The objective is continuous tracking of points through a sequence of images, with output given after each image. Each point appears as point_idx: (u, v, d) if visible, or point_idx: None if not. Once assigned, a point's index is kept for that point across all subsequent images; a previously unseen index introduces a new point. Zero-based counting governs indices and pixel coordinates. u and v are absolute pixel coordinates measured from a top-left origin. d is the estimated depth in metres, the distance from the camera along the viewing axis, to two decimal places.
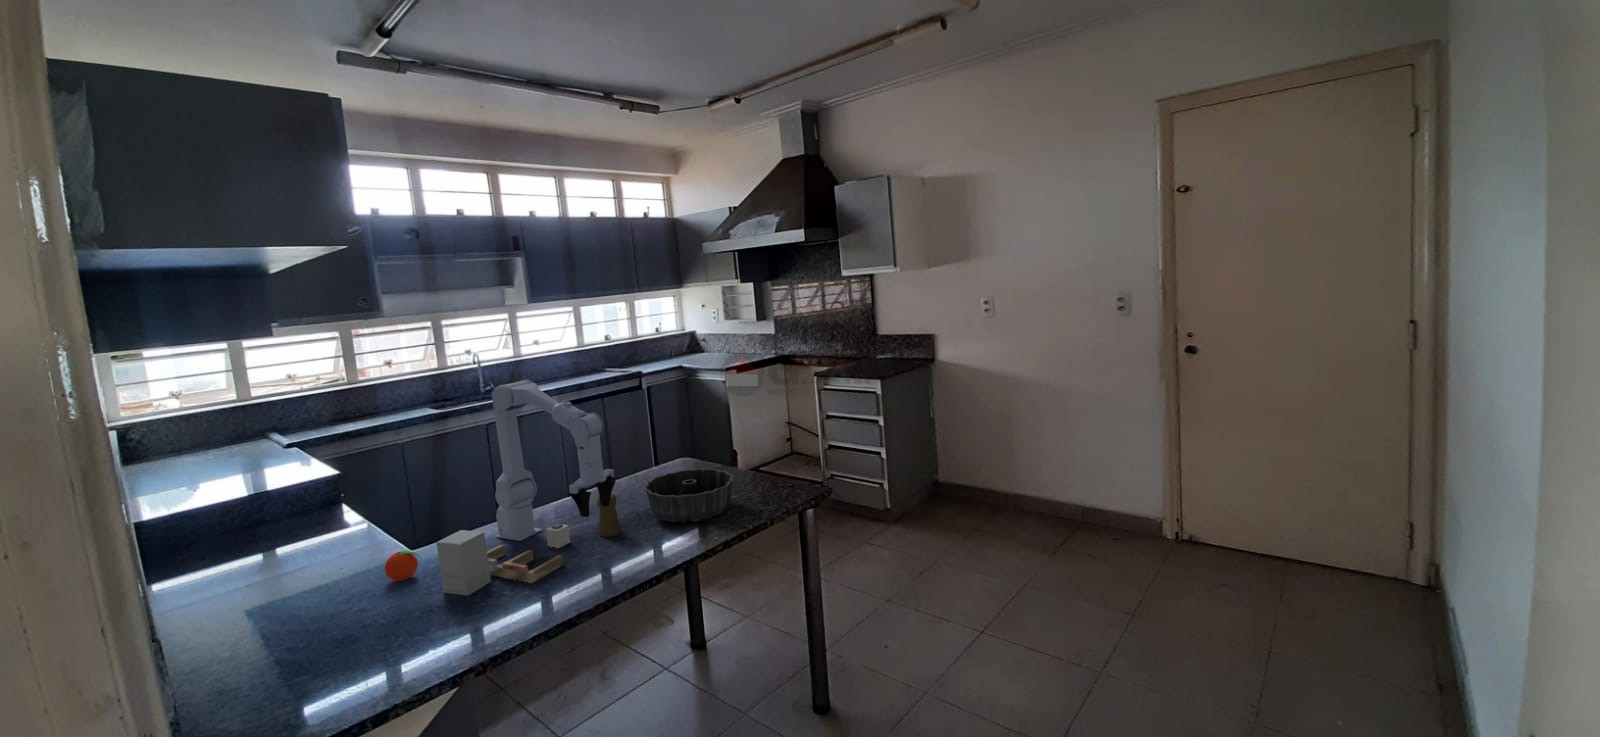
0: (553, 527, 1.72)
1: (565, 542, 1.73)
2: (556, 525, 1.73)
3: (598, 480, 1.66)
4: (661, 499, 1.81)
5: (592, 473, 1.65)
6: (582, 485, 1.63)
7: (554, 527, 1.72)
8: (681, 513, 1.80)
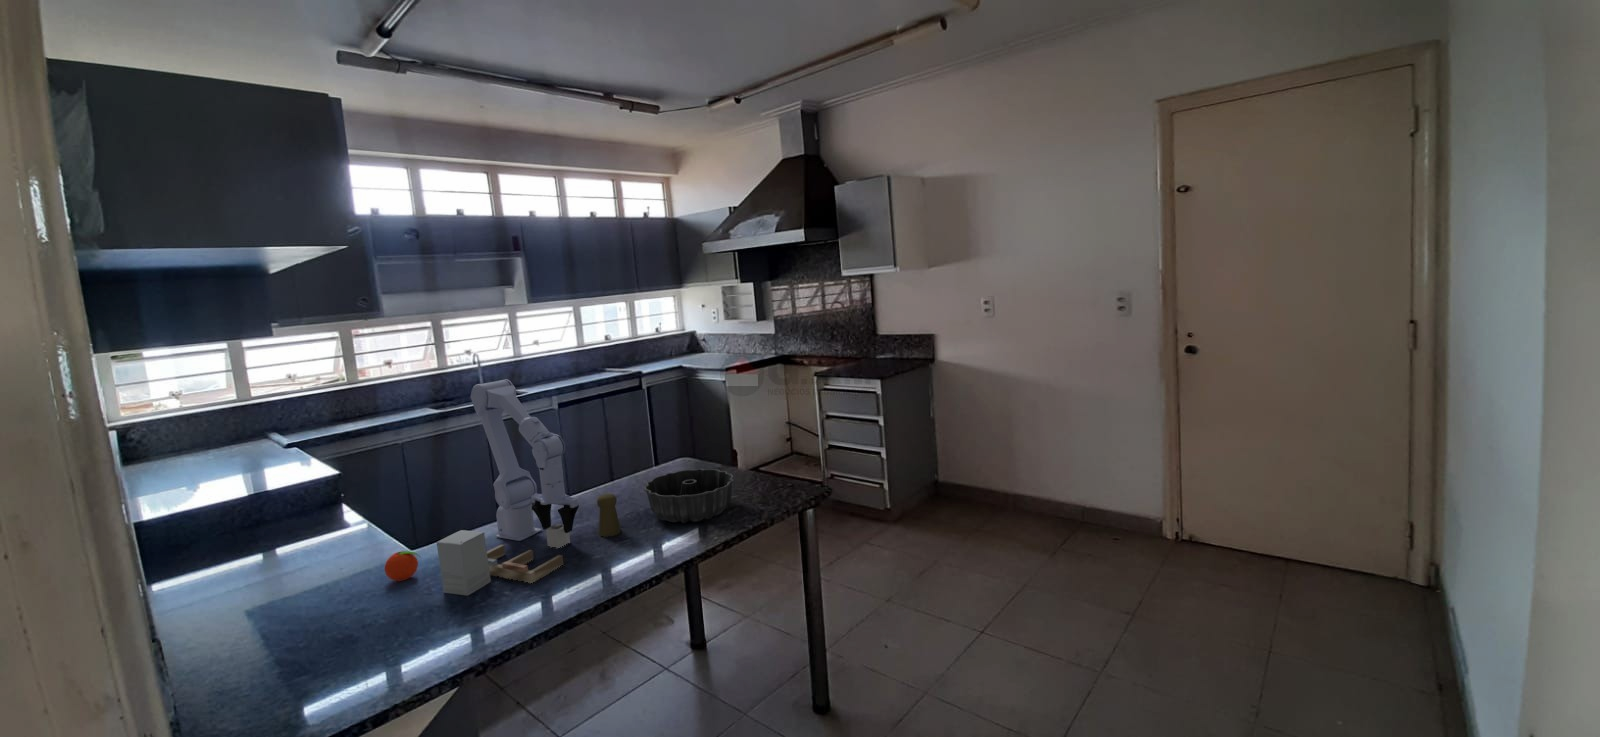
0: (553, 527, 1.72)
1: (565, 542, 1.73)
2: (556, 525, 1.73)
3: None
4: (661, 499, 1.81)
5: None
6: (535, 498, 1.73)
7: (554, 527, 1.72)
8: (681, 513, 1.80)
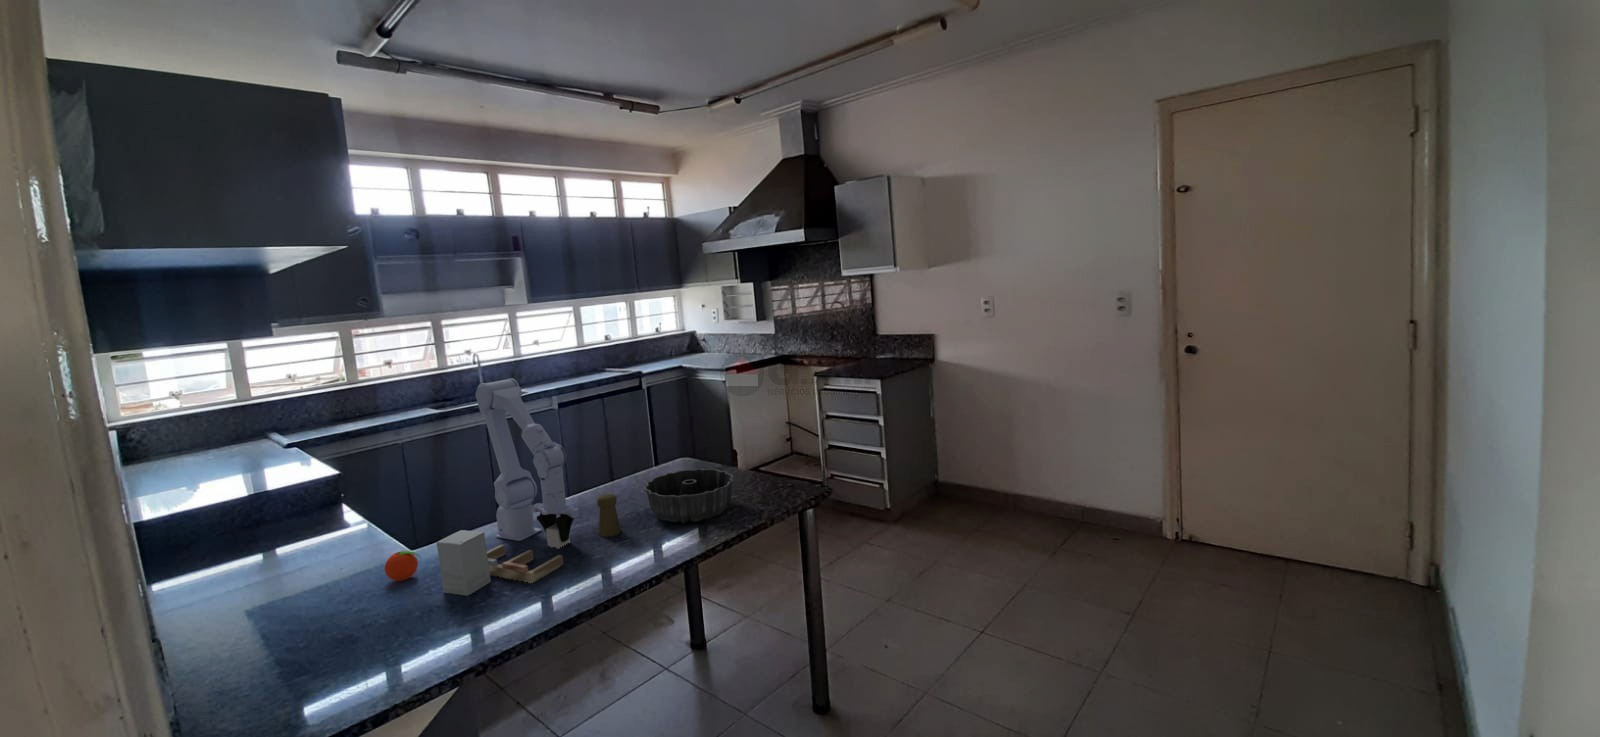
0: (553, 527, 1.72)
1: (565, 542, 1.73)
2: (556, 525, 1.73)
3: None
4: (661, 499, 1.81)
5: None
6: (536, 508, 1.73)
7: (554, 527, 1.72)
8: (681, 513, 1.80)
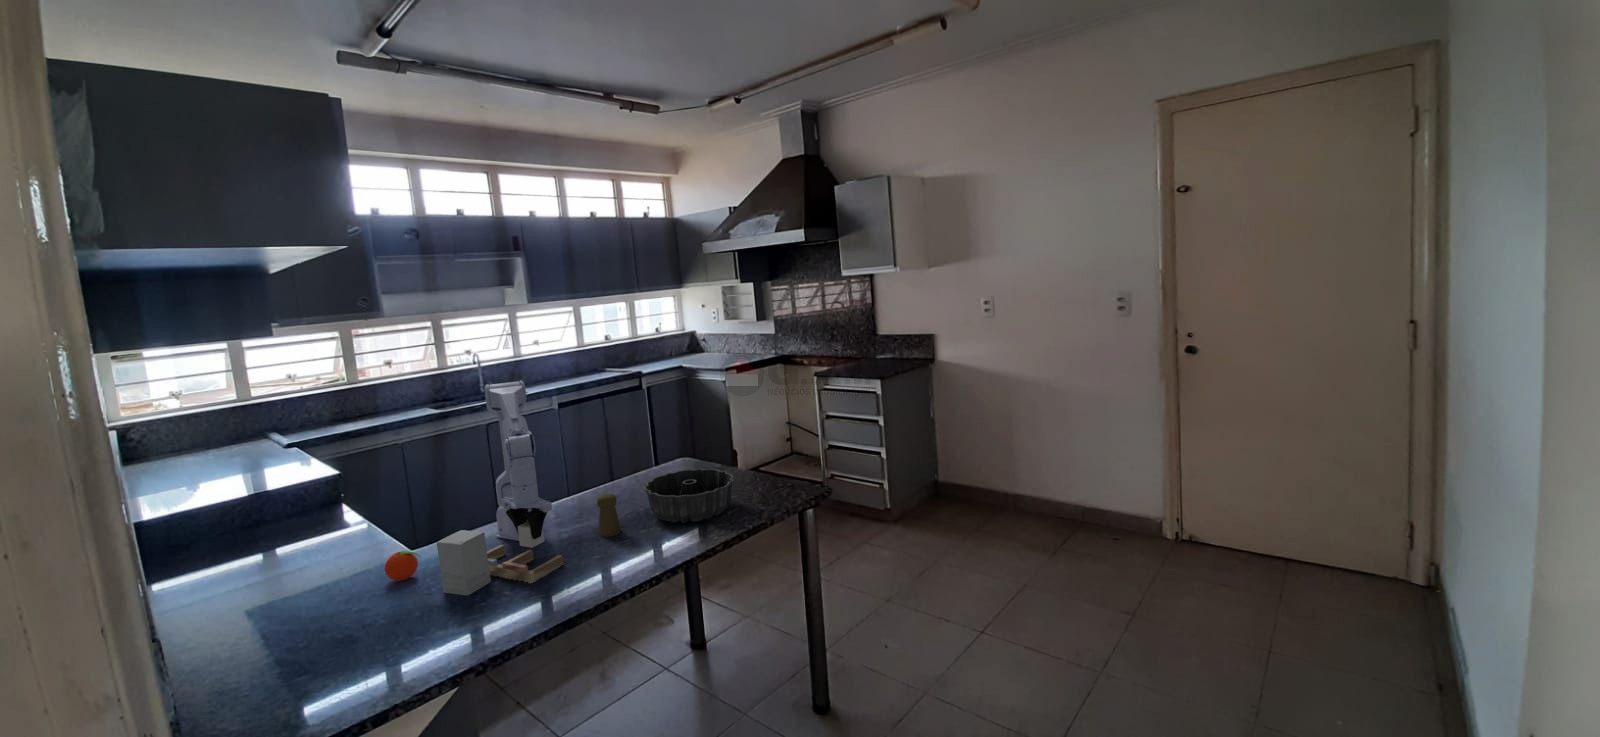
0: (525, 524, 1.58)
1: (539, 540, 1.59)
2: None
3: None
4: (661, 499, 1.81)
5: (512, 495, 1.56)
6: (506, 502, 1.58)
7: (527, 524, 1.57)
8: (681, 513, 1.80)
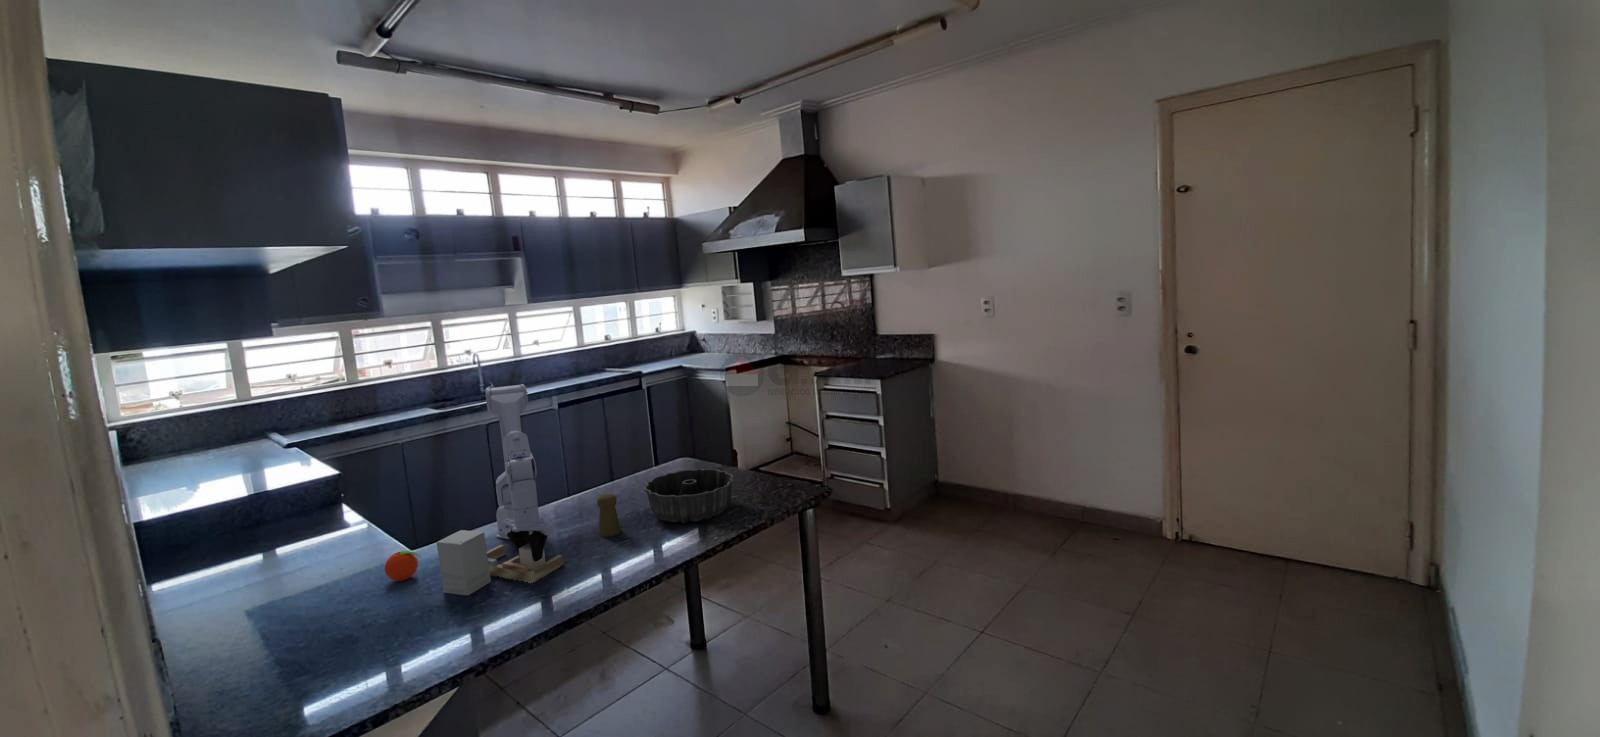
0: (527, 546, 1.58)
1: (540, 562, 1.59)
2: None
3: None
4: (661, 499, 1.81)
5: (513, 518, 1.56)
6: (507, 524, 1.58)
7: (528, 546, 1.58)
8: (681, 513, 1.80)
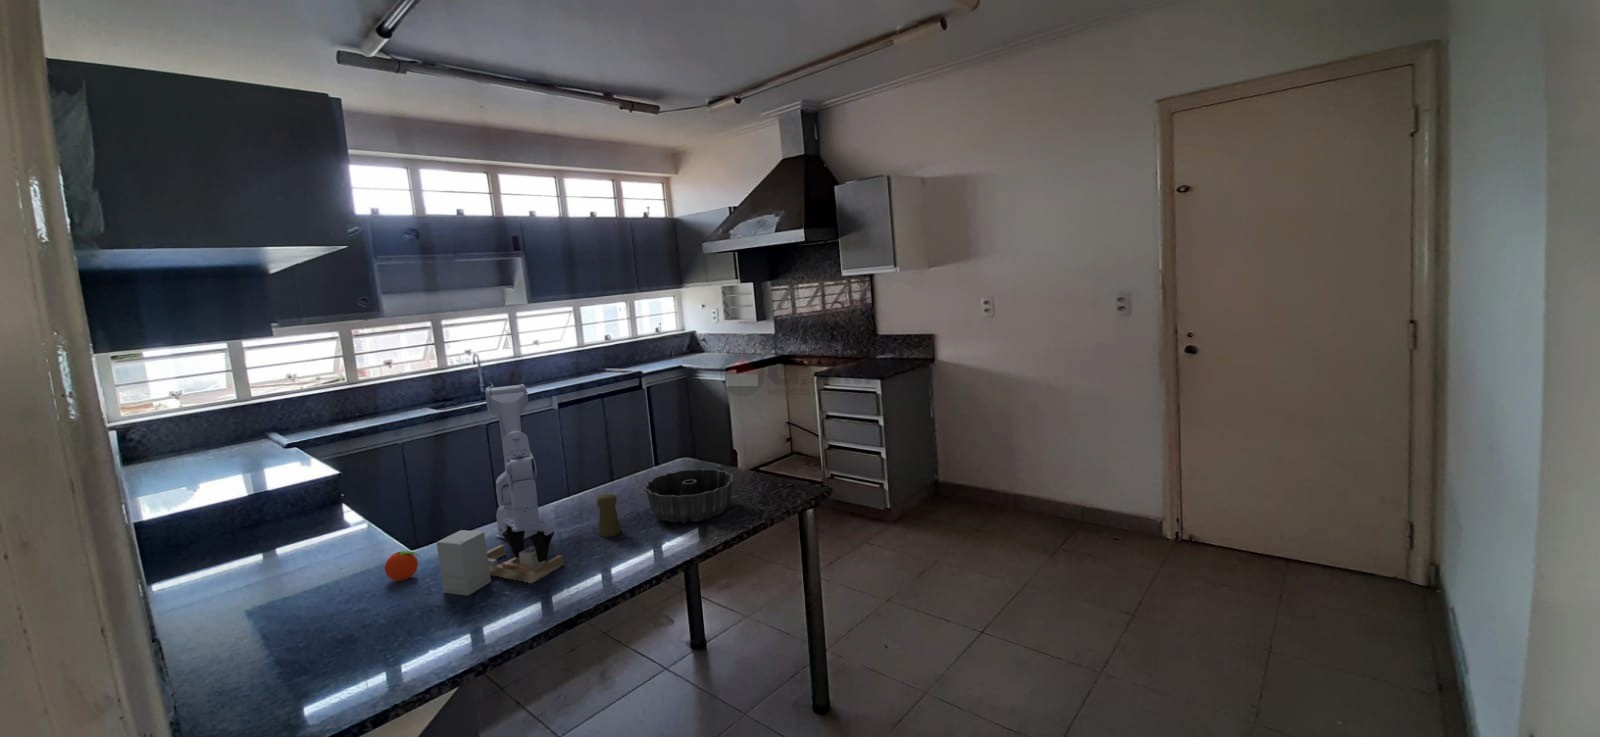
0: (527, 550, 1.58)
1: None
2: (530, 548, 1.58)
3: None
4: (661, 499, 1.81)
5: (513, 518, 1.56)
6: (507, 524, 1.58)
7: (528, 550, 1.58)
8: (681, 513, 1.80)
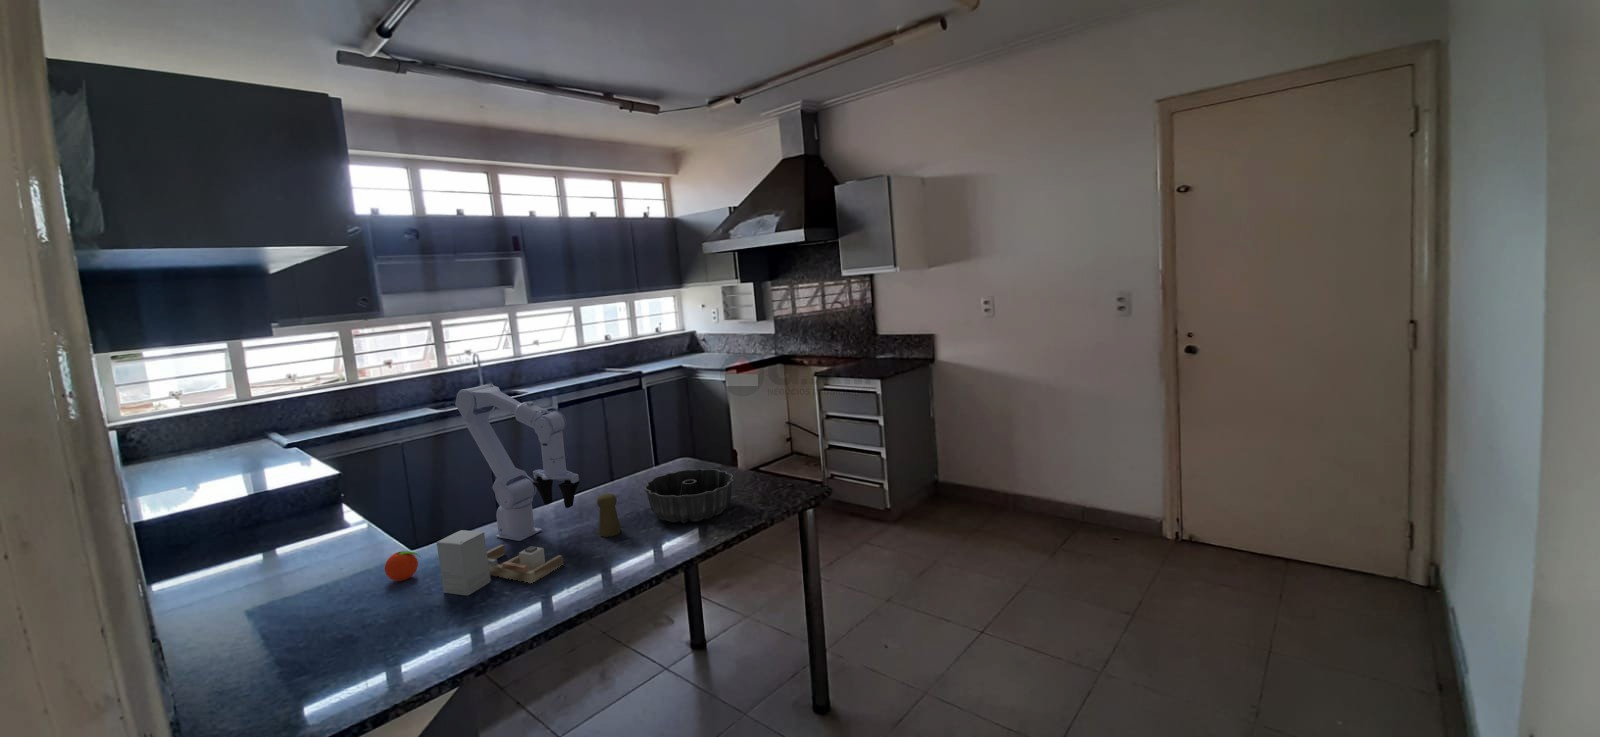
0: (527, 550, 1.58)
1: None
2: (530, 548, 1.58)
3: None
4: (661, 499, 1.81)
5: (543, 468, 1.73)
6: (537, 474, 1.75)
7: (528, 550, 1.58)
8: (681, 513, 1.80)
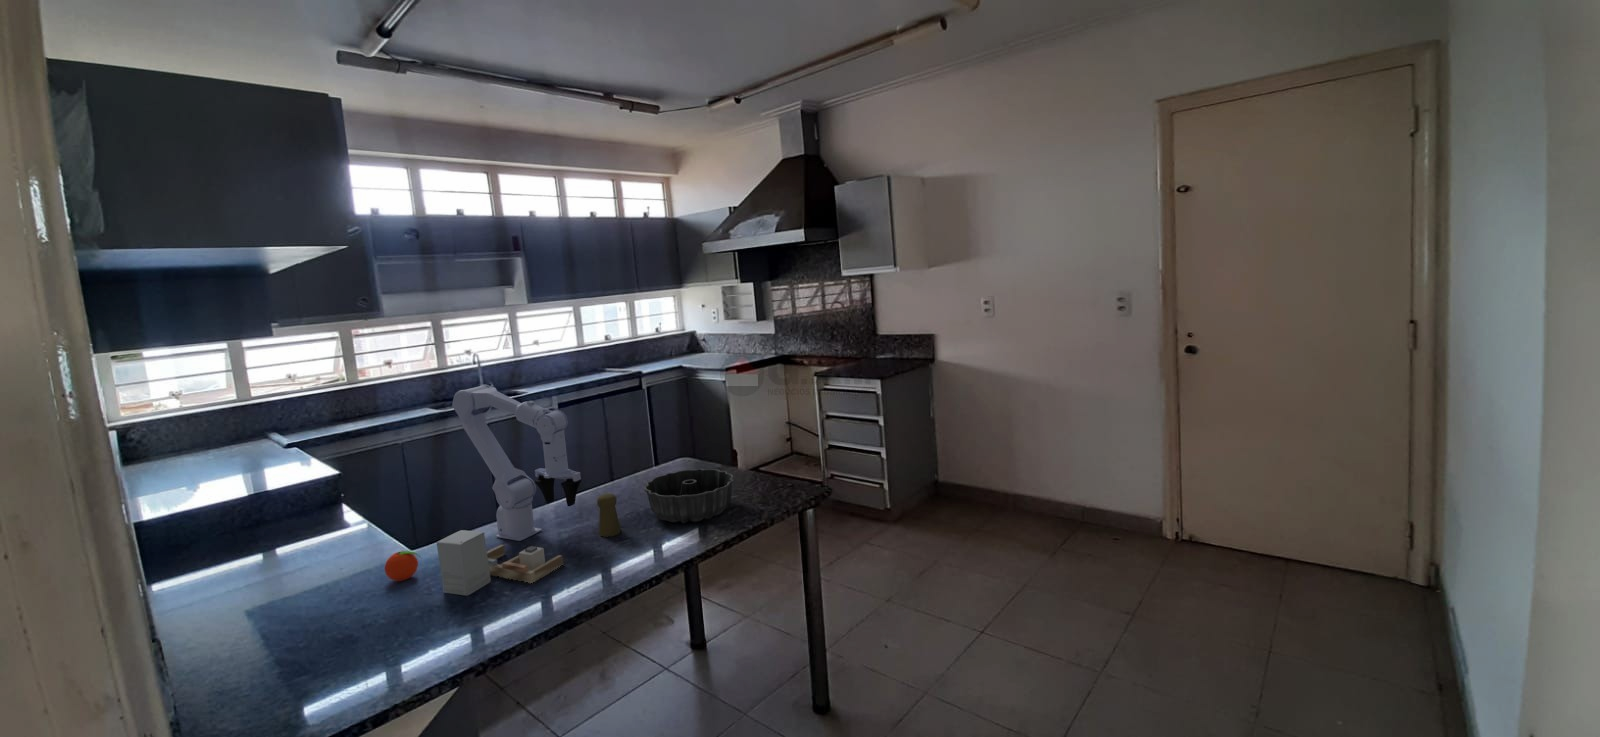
0: (527, 550, 1.58)
1: None
2: (530, 548, 1.58)
3: None
4: (661, 499, 1.81)
5: (545, 466, 1.74)
6: (539, 472, 1.76)
7: (528, 550, 1.58)
8: (681, 513, 1.80)
